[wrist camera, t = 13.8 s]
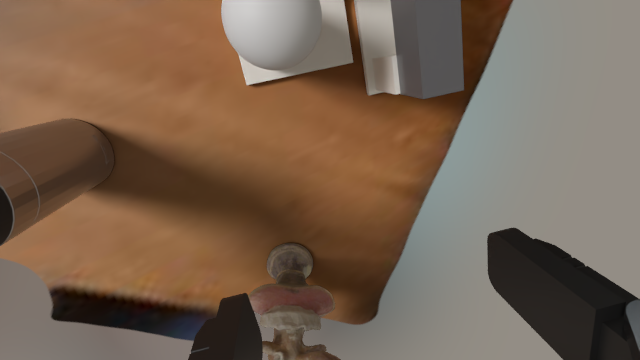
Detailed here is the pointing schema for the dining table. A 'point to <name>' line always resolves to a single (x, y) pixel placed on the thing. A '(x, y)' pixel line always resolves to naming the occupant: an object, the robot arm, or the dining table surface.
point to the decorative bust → (291, 305)
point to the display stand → (311, 39)
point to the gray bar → (428, 46)
